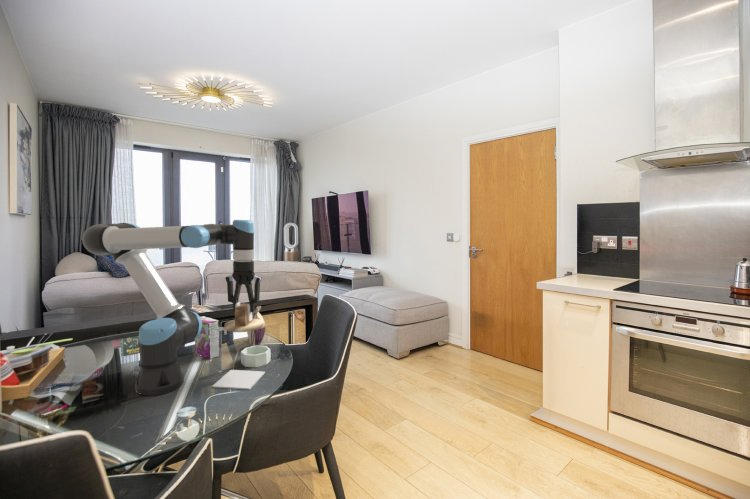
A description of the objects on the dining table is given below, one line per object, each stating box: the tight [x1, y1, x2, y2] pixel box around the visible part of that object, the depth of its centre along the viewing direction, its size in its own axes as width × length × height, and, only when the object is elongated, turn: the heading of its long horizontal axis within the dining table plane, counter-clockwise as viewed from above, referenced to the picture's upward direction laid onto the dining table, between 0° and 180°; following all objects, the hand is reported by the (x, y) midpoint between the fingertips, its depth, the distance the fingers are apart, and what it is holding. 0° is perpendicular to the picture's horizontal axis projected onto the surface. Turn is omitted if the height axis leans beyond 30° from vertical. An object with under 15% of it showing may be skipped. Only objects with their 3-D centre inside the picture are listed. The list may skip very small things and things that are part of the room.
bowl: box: [240, 345, 272, 368], centre depth 154 cm, size 11×11×5 cm
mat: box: [211, 369, 266, 390], centre depth 137 cm, size 14×14×1 cm
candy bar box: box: [194, 316, 220, 360], centre depth 159 cm, size 11×5×16 cm, turn 58°
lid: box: [223, 302, 263, 333], centre depth 141 cm, size 14×14×8 cm
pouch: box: [246, 305, 266, 347], centre depth 173 cm, size 25×8×19 cm, turn 13°
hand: (243, 319), depth 141 cm, fingers closed on lid, 4 cm apart
